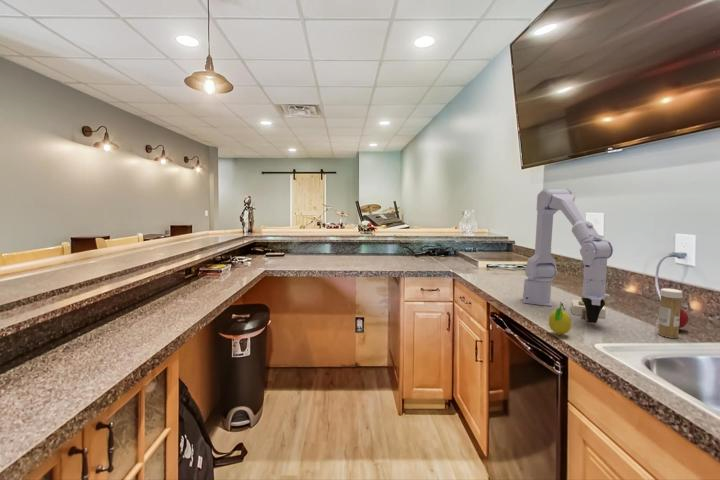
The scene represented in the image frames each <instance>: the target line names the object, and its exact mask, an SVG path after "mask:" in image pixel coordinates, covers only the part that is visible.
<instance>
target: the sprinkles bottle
mask: <svg viewBox="0 0 720 480" xmlns="http://www.w3.org/2000/svg"><path fill="white" fill-rule="evenodd" d="M659 295H660V301H659V303H660V304H659V310H658V311H659V313H658V331H657V334H658V335H659V336H661V337H664V336H665V337H664V338H668V337H669V338H670V339H678V338H679V337H680V335H679V329H680V328H679V322H680V308H681V303H682V302H681V300H682V298H683V291H682V290H680V289H676V288H665V287H664V288H661V289H660V293H659Z"/></svg>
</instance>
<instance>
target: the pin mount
mask: <svg viewBox="0 0 720 480" xmlns="http://www.w3.org/2000/svg"><path fill="white" fill-rule="evenodd" d="M585 314H586V309H582V315H581V319H584V320H585Z"/></svg>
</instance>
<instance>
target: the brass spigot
mask: <svg viewBox="0 0 720 480" xmlns="http://www.w3.org/2000/svg"><path fill="white" fill-rule="evenodd" d="M582 298H587V297H585V296H583V295H582V293H581V299H580V300H581V306H585V304H584V302H583V300H582ZM585 309H586V307H585Z"/></svg>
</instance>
